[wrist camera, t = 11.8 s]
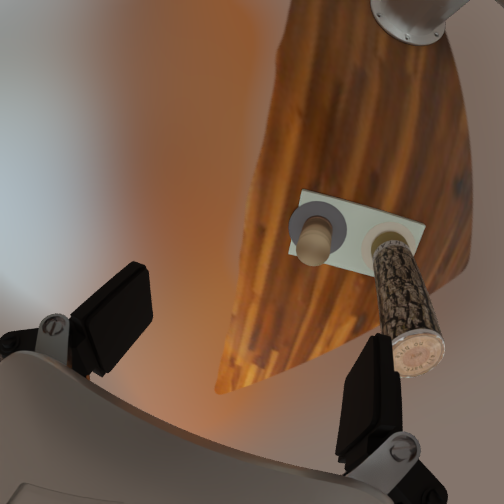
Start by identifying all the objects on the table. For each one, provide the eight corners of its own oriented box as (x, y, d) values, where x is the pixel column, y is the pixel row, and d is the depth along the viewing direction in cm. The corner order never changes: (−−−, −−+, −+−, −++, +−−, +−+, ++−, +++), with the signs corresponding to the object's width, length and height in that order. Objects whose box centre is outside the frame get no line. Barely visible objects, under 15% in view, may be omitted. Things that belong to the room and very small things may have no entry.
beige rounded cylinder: (306, 212, 47) (299, 230, 40) (335, 219, 46) (334, 239, 39) (300, 239, 49) (292, 261, 42) (328, 246, 48) (325, 270, 42)
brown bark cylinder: (412, 256, 44) (449, 364, 23) (379, 271, 47) (392, 384, 26) (399, 223, 43) (439, 322, 21) (364, 240, 46) (374, 347, 25)
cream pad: (370, 214, 44) (370, 215, 44) (423, 231, 42) (423, 231, 42) (353, 266, 49) (353, 266, 48) (403, 279, 47) (403, 280, 47)
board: (296, 187, 46) (295, 189, 45) (424, 223, 42) (425, 226, 41) (284, 249, 52) (282, 252, 51) (400, 281, 48) (401, 284, 47)
